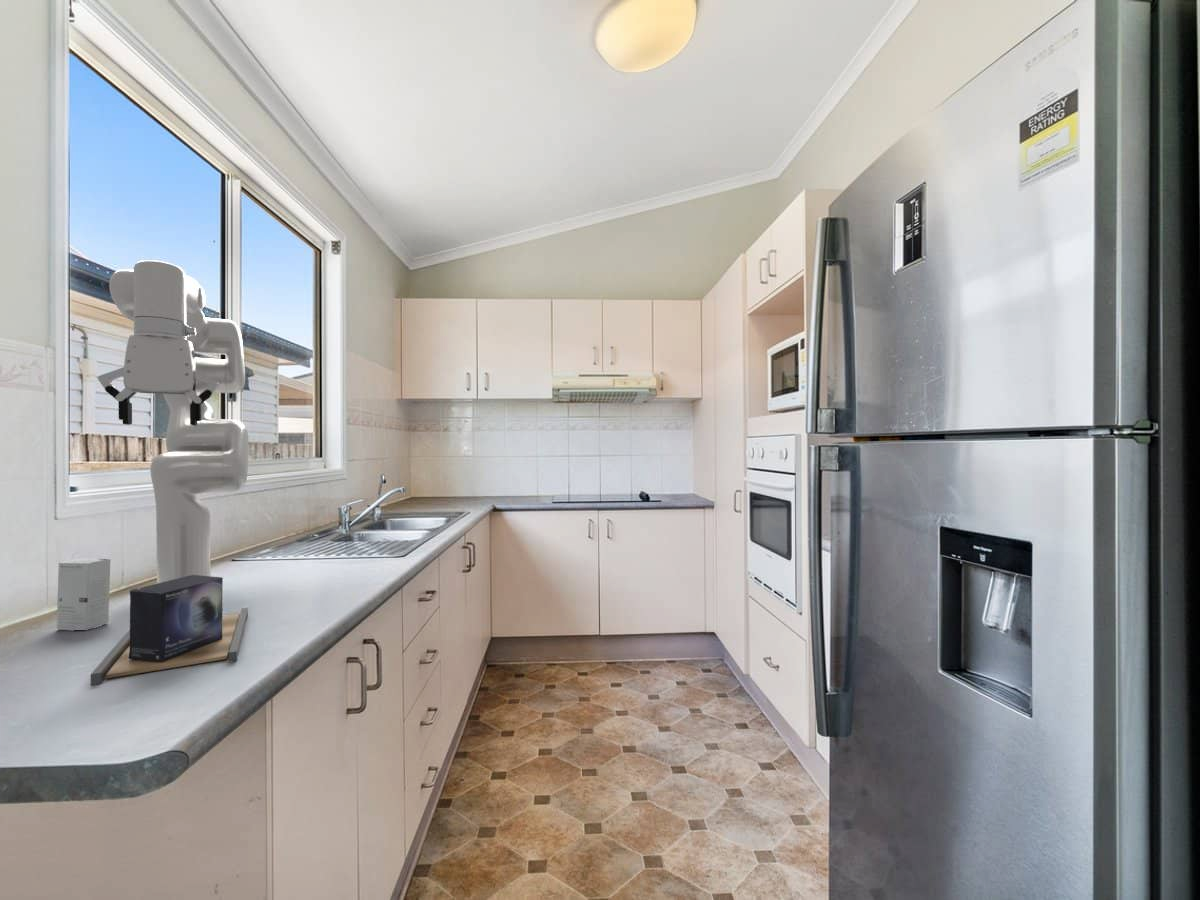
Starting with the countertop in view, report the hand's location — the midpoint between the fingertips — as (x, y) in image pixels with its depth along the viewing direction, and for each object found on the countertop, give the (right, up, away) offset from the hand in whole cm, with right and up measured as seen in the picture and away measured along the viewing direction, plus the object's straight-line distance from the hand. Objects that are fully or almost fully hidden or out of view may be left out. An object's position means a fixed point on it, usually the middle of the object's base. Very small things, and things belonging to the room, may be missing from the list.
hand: (161, 424), depth 100 cm
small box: (+14, -36, -14) cm, 41 cm away
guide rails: (+12, -37, -10) cm, 40 cm away
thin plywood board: (+12, -37, -10) cm, 40 cm away
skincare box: (-13, -37, -1) cm, 39 cm away
